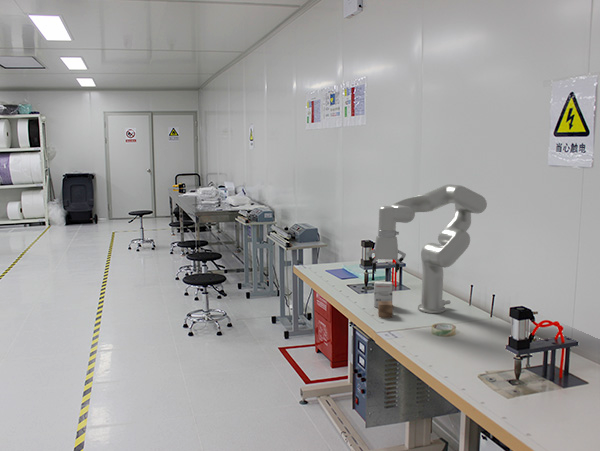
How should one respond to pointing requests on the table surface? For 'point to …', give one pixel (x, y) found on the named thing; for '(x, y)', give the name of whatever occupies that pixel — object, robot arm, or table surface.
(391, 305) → the walnut block
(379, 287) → the ink box
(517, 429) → the table surface
